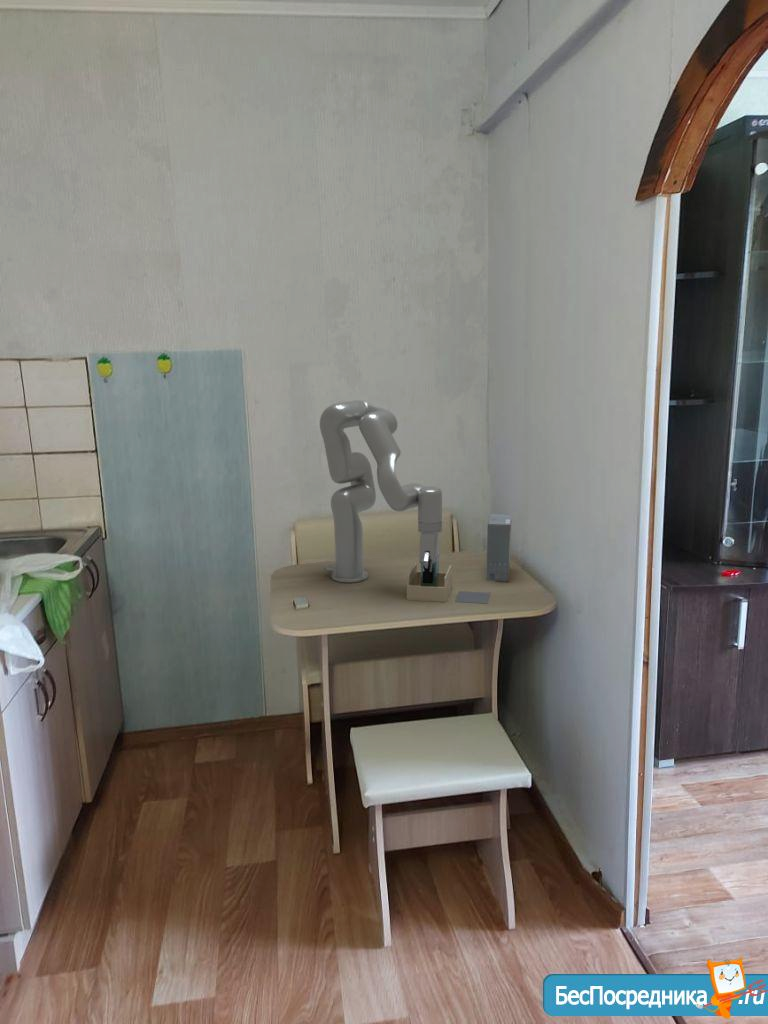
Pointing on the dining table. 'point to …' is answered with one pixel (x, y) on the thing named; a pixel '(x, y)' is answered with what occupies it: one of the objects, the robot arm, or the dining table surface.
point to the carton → (426, 592)
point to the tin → (435, 573)
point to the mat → (472, 597)
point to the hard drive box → (498, 547)
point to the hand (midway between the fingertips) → (430, 578)
